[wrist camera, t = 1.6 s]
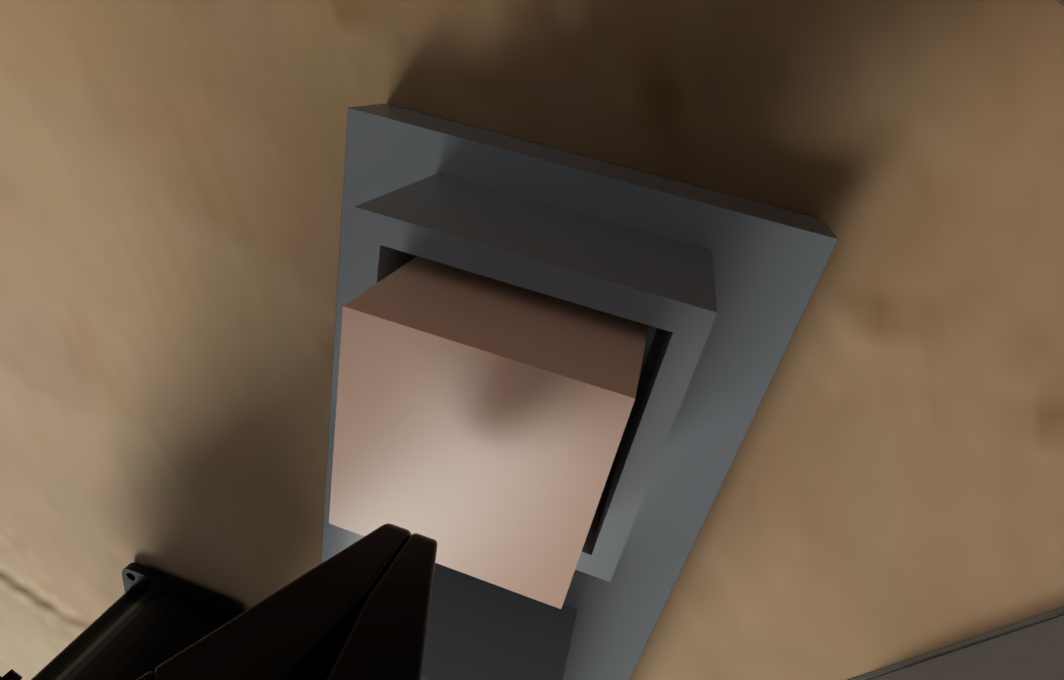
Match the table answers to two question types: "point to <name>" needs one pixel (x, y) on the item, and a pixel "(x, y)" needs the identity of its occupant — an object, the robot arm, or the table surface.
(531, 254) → the key panel
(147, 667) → the robot arm
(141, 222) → the table surface
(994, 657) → the emergency button
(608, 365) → the key terracotta
